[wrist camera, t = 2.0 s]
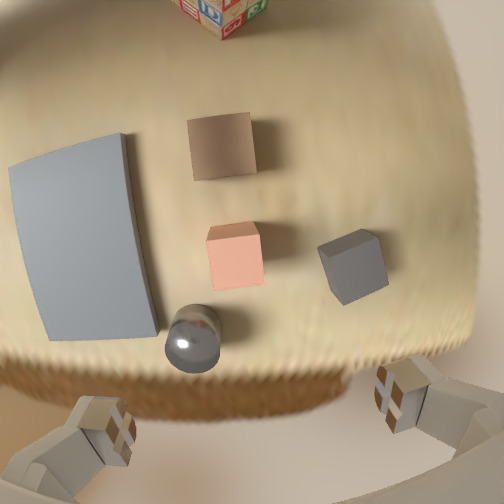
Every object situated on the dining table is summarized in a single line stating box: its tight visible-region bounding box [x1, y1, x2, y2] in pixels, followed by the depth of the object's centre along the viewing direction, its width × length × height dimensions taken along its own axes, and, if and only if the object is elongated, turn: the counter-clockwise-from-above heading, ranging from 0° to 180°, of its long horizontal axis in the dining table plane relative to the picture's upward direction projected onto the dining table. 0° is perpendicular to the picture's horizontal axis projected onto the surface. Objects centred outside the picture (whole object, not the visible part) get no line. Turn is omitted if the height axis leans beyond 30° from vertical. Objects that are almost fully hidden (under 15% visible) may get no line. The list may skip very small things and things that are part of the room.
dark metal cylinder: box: [165, 304, 221, 373], centre depth 29 cm, size 5×5×5 cm
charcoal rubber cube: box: [317, 229, 389, 306], centre depth 29 cm, size 5×5×4 cm
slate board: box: [8, 133, 160, 341], centre depth 27 cm, size 14×20×2 cm
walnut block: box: [187, 112, 257, 181], centre depth 25 cm, size 5×5×4 cm
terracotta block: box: [206, 222, 265, 291], centre depth 26 cm, size 4×4×6 cm
